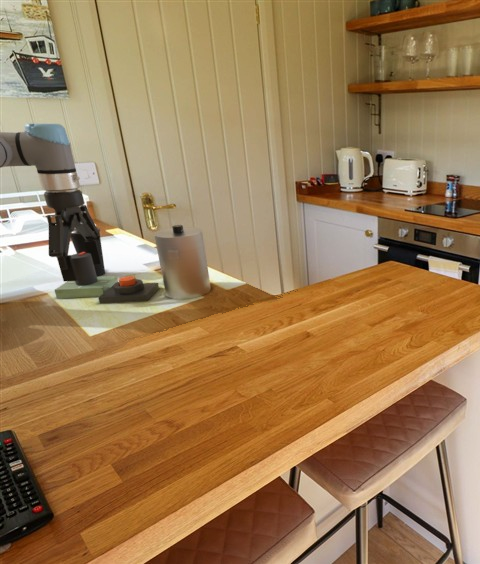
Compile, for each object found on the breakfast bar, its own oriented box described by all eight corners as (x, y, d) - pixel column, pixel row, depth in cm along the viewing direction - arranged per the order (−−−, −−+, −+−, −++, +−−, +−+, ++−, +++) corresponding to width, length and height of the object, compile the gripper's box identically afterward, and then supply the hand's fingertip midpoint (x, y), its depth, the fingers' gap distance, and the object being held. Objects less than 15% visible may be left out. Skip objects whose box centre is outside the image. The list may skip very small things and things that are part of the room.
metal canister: (204, 302, 109) (192, 232, 102) (158, 305, 107) (143, 233, 100) (216, 283, 122) (206, 219, 115) (175, 285, 120) (162, 220, 113)
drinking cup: (73, 278, 124) (54, 210, 117) (96, 269, 131) (79, 205, 124) (94, 280, 122) (76, 211, 115) (116, 272, 129) (101, 206, 122)
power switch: (117, 287, 108) (116, 281, 107) (123, 282, 111) (122, 276, 111) (133, 286, 109) (131, 280, 108) (138, 281, 112) (137, 275, 111)
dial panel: (57, 300, 109) (53, 289, 107) (75, 287, 117) (72, 277, 116) (104, 298, 111) (101, 287, 109) (119, 285, 119) (116, 275, 118)
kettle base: (100, 305, 106) (96, 290, 105) (115, 292, 114) (112, 278, 113) (147, 303, 108) (144, 288, 107) (159, 290, 116) (156, 276, 115)
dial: (92, 285, 111) (85, 256, 108) (72, 286, 110) (64, 257, 107) (101, 278, 115) (94, 251, 112) (81, 279, 114) (73, 252, 112)
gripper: (50, 198, 93) (75, 288, 101) (102, 183, 116) (119, 257, 124) (11, 199, 92) (39, 289, 99) (71, 183, 115) (91, 258, 122)
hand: (84, 271), depth 112 cm, fingers open, 13 cm apart
